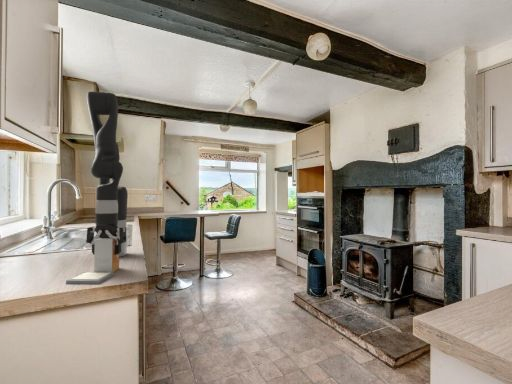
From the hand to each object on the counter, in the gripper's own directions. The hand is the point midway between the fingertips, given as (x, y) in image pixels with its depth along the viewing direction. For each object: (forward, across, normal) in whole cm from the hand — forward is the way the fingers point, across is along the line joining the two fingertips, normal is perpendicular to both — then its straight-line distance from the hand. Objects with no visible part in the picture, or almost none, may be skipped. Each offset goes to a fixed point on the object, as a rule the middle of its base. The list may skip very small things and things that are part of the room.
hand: (106, 254), depth 98 cm
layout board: (+7, 0, +9) cm, 11 cm away
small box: (+7, 0, 0) cm, 7 cm away
